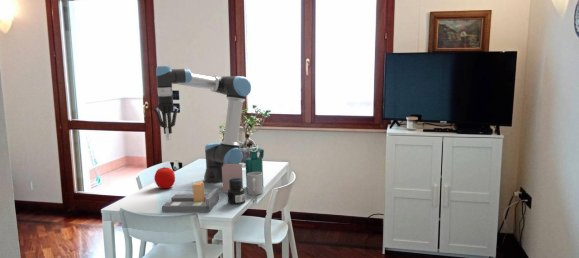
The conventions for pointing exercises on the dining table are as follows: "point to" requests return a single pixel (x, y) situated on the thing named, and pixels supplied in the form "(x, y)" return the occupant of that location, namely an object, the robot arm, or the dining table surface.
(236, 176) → the greeting card
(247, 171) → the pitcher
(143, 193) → the dining table surface
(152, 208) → the dining table surface
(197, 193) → the lever
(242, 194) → the ink bottle
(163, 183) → the tomato
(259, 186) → the mug
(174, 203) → the breaker housing
